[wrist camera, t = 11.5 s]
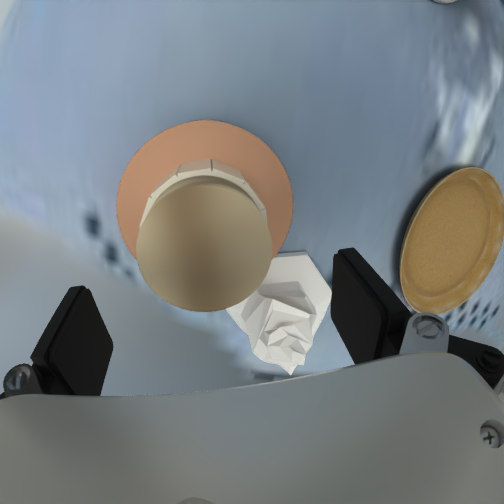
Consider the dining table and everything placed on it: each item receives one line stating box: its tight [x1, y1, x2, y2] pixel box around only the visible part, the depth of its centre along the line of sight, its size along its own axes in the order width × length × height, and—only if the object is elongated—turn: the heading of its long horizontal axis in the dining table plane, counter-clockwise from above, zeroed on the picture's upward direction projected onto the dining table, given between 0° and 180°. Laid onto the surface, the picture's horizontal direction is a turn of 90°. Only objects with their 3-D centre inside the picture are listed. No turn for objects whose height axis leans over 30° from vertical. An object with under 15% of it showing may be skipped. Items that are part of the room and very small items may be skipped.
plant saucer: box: [399, 167, 504, 315], centre depth 39 cm, size 24×24×3 cm
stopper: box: [136, 175, 272, 312], centre depth 18 cm, size 7×7×6 cm
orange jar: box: [116, 119, 293, 260], centre depth 25 cm, size 13×13×15 cm
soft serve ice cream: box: [226, 251, 332, 375], centre depth 33 cm, size 12×15×14 cm
